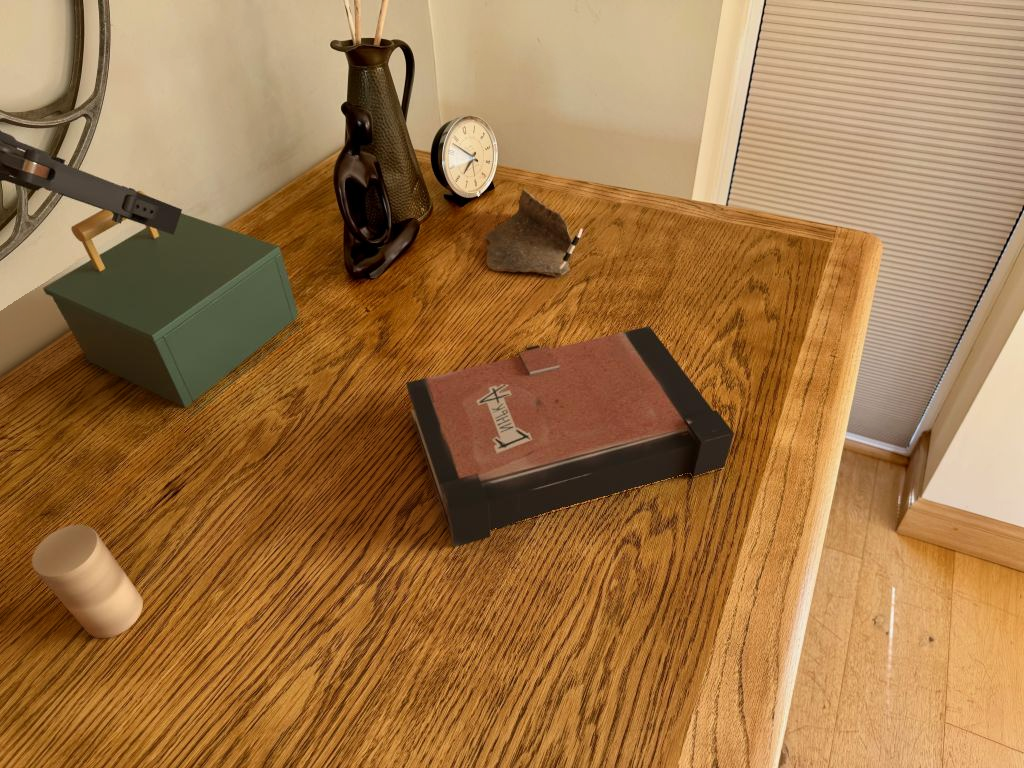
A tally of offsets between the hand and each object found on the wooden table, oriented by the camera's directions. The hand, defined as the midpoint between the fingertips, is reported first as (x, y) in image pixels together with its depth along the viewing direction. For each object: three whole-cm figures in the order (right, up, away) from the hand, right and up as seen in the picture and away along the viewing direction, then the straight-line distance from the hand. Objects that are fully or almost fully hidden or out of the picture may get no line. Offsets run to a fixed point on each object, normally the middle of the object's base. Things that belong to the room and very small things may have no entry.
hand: (148, 211), depth 75 cm
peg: (+5, -36, -16) cm, 40 cm away
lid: (+2, -6, +1) cm, 6 cm away
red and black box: (+42, -23, -3) cm, 48 cm away
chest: (+2, -14, +8) cm, 16 cm away
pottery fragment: (+39, -1, +21) cm, 44 cm away
